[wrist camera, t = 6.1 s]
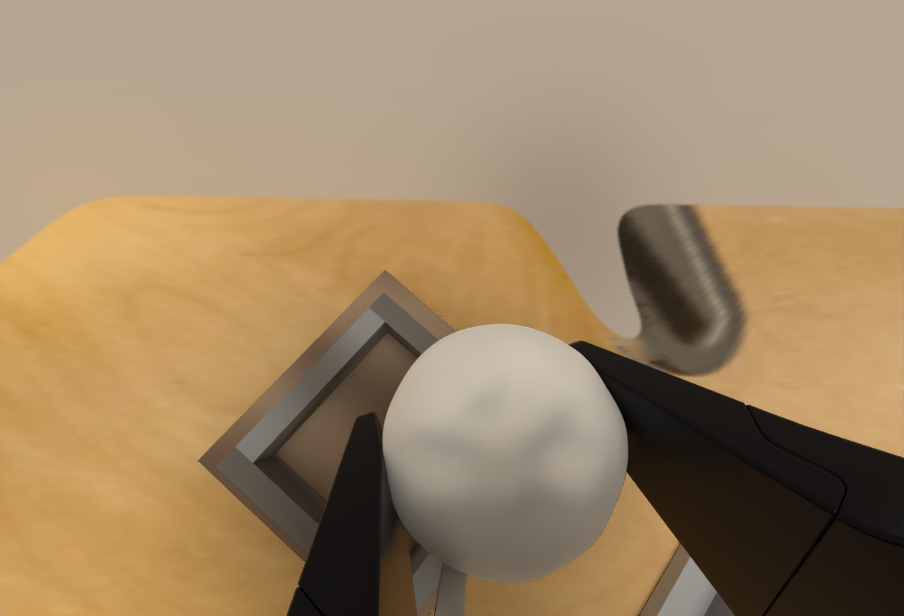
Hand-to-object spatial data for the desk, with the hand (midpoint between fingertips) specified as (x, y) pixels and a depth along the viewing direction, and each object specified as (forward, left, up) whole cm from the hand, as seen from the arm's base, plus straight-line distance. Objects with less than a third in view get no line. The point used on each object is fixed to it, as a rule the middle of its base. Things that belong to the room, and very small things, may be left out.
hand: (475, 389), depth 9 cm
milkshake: (-1, -1, -7) cm, 7 cm away
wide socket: (-3, 0, -13) cm, 14 cm away
